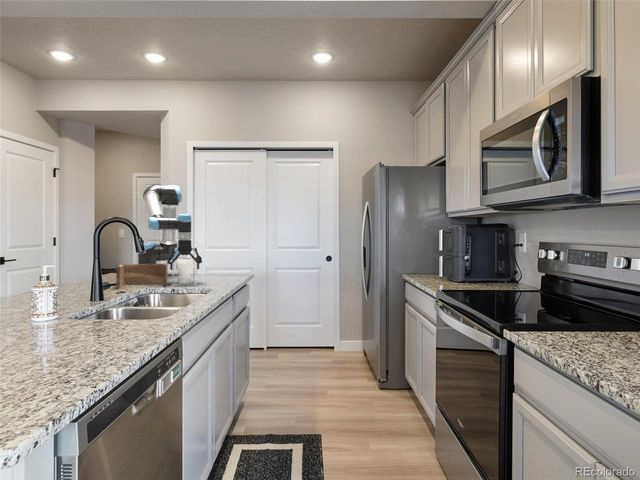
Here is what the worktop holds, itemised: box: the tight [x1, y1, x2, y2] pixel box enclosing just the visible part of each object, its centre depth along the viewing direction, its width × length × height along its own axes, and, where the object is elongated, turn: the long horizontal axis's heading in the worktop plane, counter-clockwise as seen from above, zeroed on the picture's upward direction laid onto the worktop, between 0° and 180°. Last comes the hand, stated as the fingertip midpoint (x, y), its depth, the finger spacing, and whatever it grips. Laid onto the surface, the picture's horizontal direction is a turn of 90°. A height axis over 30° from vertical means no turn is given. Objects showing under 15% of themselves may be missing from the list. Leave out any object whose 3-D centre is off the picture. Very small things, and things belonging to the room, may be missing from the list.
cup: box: [175, 257, 195, 284], centre depth 226 cm, size 11×11×15 cm
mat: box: [170, 280, 199, 287], centre depth 226 cm, size 15×15×1 cm
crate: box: [115, 263, 169, 290], centre depth 220 cm, size 17×26×13 cm, turn 109°
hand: (184, 275), depth 226 cm, fingers open, 13 cm apart
